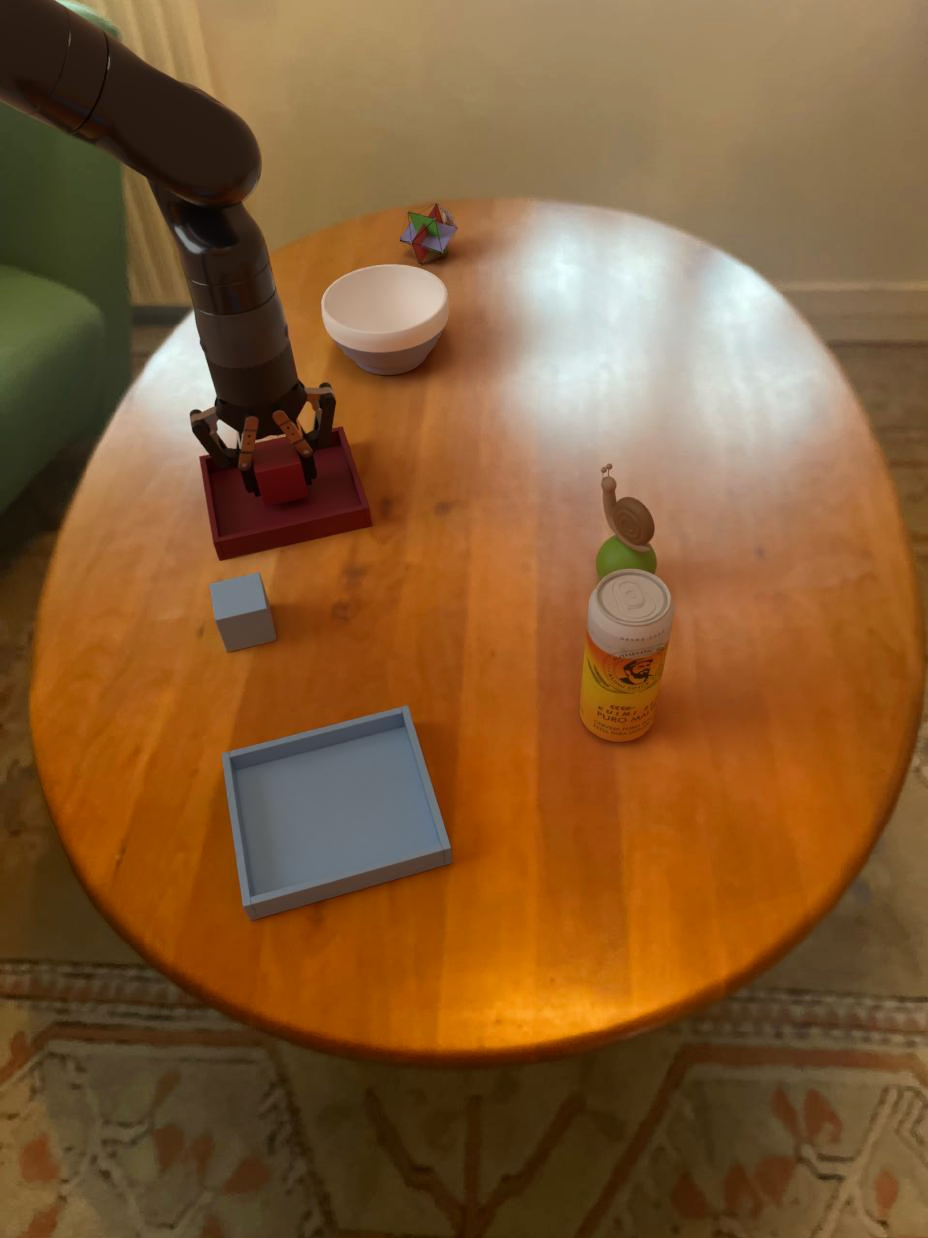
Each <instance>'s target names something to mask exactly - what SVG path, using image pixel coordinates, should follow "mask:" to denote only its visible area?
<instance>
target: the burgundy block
mask: <svg viewBox="0 0 928 1238" xmlns="http://www.w3.org/2000/svg"><path fill="white" fill-rule="evenodd" d="M252 462H253V467H254V471H255V475H256V479H257V482H258V486H259V490H260V493H261V497H262V500H263V504H264V506H270V505H274V504H279V503H283V502H288V501H292V500H297V499H301V498H306V497H308V496H309V495H308V491H307V486H306V482H305V478H304V473H303V469H302V465H301V461H300V457H299V453H298V450H297V449H296V448H295V446H294V445H292V444H291V442H290V441H289V439H288V438H287V437H286V435H285V436H280V437H276V438H271V439H268V440H261V441H258V442H255V449H254V453H253V455H252Z"/></svg>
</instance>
